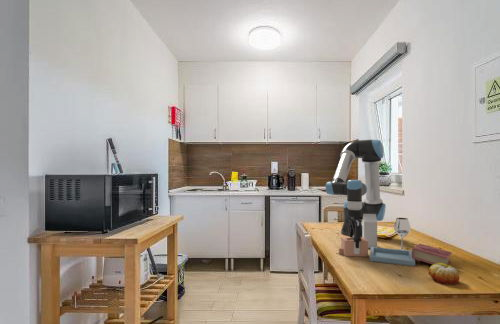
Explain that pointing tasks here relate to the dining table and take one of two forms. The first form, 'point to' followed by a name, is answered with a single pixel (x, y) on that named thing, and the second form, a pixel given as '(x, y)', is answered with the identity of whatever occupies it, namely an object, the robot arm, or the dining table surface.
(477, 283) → the dining table surface
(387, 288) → the dining table surface
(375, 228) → the milk carton
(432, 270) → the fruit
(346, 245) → the pink window frame
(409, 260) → the tray
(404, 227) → the wineglass
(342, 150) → the robot arm
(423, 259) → the book
